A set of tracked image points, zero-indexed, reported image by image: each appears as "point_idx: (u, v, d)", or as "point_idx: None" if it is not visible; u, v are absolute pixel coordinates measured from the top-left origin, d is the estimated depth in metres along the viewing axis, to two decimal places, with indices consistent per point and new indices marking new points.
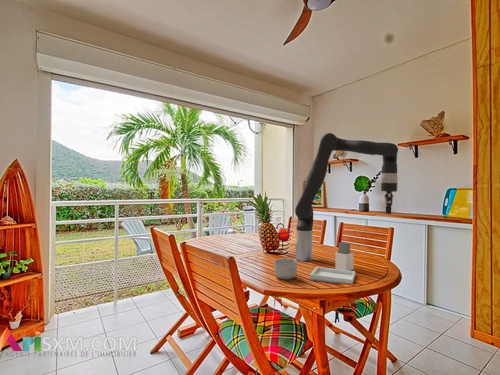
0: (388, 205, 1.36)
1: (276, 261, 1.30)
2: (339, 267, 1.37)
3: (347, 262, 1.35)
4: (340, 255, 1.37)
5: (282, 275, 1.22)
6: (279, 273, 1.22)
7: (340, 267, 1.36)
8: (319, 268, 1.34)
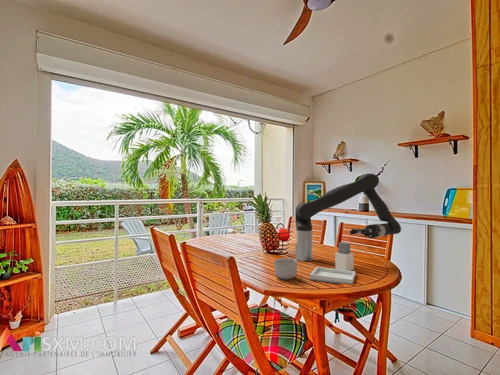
0: (373, 233, 1.42)
1: (276, 261, 1.30)
2: (339, 267, 1.37)
3: (347, 262, 1.35)
4: (340, 255, 1.37)
5: (282, 275, 1.22)
6: (279, 273, 1.22)
7: (340, 266, 1.36)
8: (319, 268, 1.34)
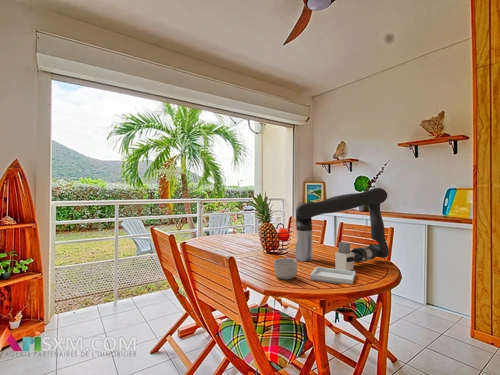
0: (355, 259, 1.35)
1: (276, 261, 1.30)
2: (339, 267, 1.37)
3: (347, 262, 1.35)
4: (340, 255, 1.37)
5: (282, 275, 1.22)
6: (279, 273, 1.22)
7: (340, 266, 1.36)
8: (319, 268, 1.34)
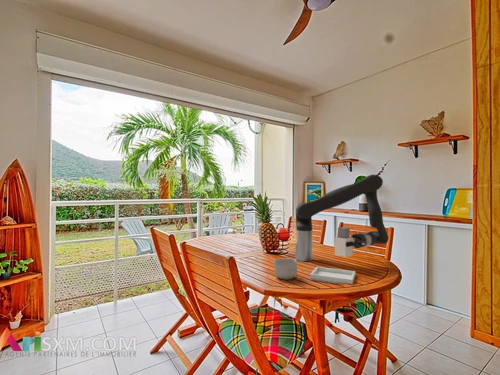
0: (355, 243, 1.35)
1: (276, 261, 1.30)
2: (338, 252, 1.37)
3: (346, 247, 1.35)
4: (339, 240, 1.37)
5: (282, 275, 1.22)
6: (279, 273, 1.22)
7: (340, 251, 1.37)
8: (319, 268, 1.34)
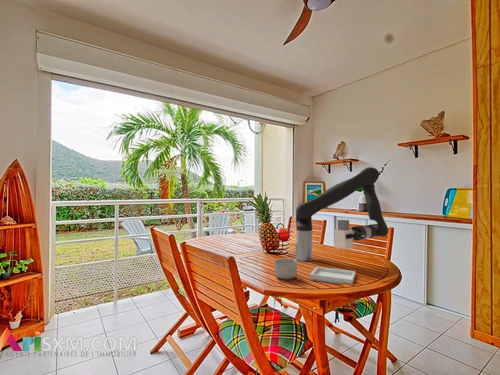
0: (355, 235, 1.34)
1: (276, 261, 1.30)
2: (338, 244, 1.37)
3: (346, 239, 1.34)
4: (339, 232, 1.36)
5: (282, 275, 1.22)
6: (279, 273, 1.22)
7: (340, 243, 1.36)
8: (319, 268, 1.34)
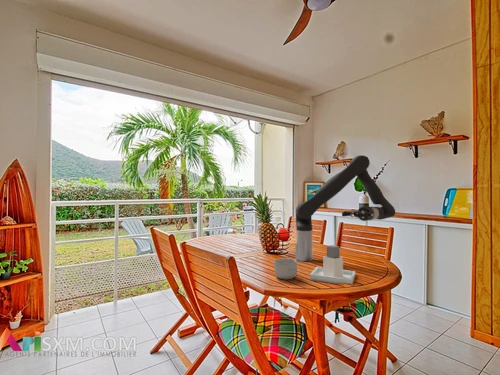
0: (365, 214, 1.36)
1: (276, 261, 1.30)
2: (327, 273, 1.24)
3: (336, 268, 1.22)
4: (328, 260, 1.24)
5: (282, 275, 1.22)
6: (279, 273, 1.22)
7: (329, 272, 1.23)
8: (319, 268, 1.34)
